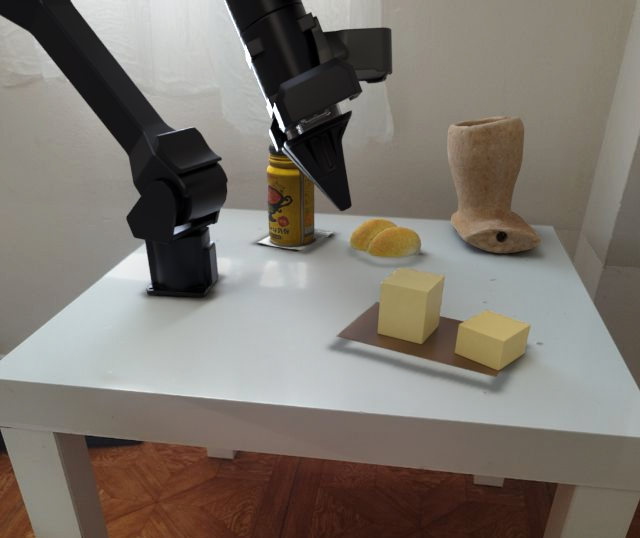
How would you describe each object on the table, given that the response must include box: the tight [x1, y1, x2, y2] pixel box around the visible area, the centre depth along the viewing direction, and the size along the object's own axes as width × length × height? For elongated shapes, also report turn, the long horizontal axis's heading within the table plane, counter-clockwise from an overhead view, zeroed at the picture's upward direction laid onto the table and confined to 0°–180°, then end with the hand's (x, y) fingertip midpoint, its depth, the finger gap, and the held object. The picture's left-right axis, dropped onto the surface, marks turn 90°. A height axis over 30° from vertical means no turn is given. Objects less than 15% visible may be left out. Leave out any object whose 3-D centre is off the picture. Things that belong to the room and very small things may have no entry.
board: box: [336, 301, 502, 378], centre depth 57 cm, size 15×9×1 cm, turn 61°
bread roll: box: [349, 217, 422, 258], centre depth 77 cm, size 8×9×4 cm
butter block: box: [378, 266, 446, 344], centre depth 56 cm, size 4×4×5 cm
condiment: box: [257, 142, 334, 251], centre depth 79 cm, size 7×8×12 cm
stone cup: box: [446, 115, 543, 254], centre depth 79 cm, size 15×12×15 cm
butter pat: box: [455, 309, 532, 371], centre depth 53 cm, size 4×4×3 cm
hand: (346, 209), depth 55 cm, fingers closed
